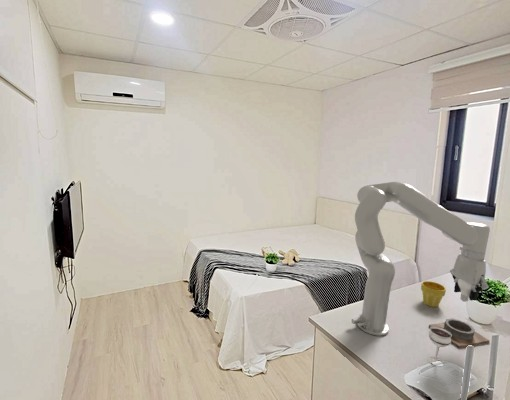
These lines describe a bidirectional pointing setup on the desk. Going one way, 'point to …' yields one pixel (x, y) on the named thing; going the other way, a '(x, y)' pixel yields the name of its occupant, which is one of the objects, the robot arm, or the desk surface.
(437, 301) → the plant pot
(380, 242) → the robot arm
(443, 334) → the wineglass
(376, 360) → the desk surface
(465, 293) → the lightbulb
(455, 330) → the bulb holder
